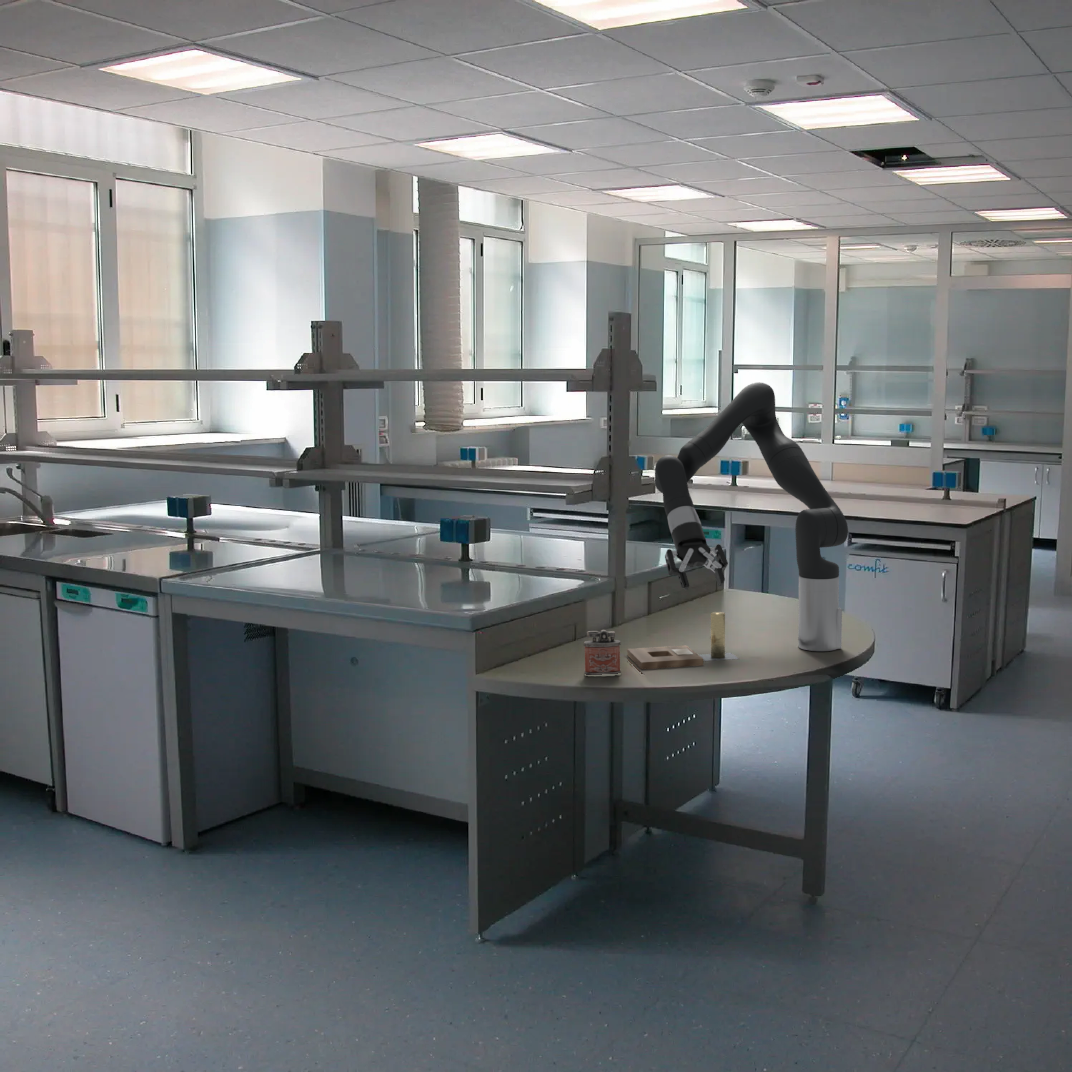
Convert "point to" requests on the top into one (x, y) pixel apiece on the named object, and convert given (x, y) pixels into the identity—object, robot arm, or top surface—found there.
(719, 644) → the brass peg
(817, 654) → the top surface
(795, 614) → the top surface
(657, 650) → the hole board
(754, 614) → the top surface
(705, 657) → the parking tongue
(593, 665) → the lighter
